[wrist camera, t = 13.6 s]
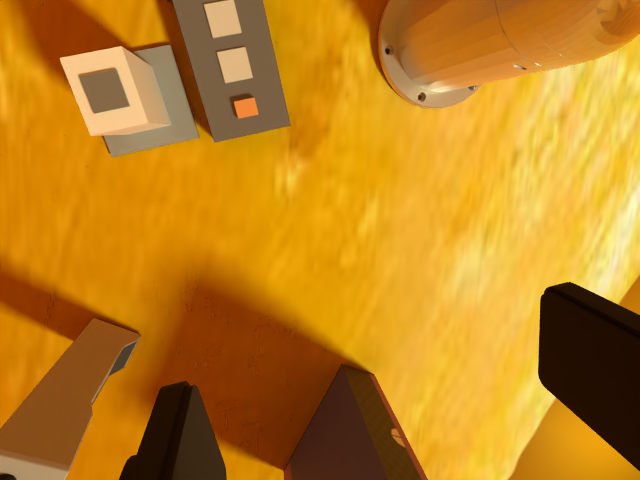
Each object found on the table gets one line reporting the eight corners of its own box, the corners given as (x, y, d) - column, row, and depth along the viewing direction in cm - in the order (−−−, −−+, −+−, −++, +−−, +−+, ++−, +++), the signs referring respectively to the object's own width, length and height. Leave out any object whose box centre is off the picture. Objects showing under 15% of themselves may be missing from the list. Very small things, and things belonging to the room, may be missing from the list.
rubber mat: (171, 45, 32) (170, 44, 31) (199, 137, 34) (198, 137, 34) (77, 63, 31) (75, 62, 30) (113, 156, 33) (111, 156, 33)
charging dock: (233, -150, 29) (231, -188, 25) (294, 124, 36) (298, 123, 32) (126, -136, 28) (109, -173, 24) (210, 143, 35) (205, 144, 31)
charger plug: (152, 66, 31) (120, 45, 24) (171, 125, 33) (147, 122, 25) (105, 75, 31) (57, 57, 23) (127, 134, 33) (89, 135, 25)
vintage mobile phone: (128, 361, 39) (-52, 700, 16) (80, 345, 38) (-196, 693, 14) (142, 333, 39) (-23, 643, 15) (94, 316, 37) (-170, 630, 14)
